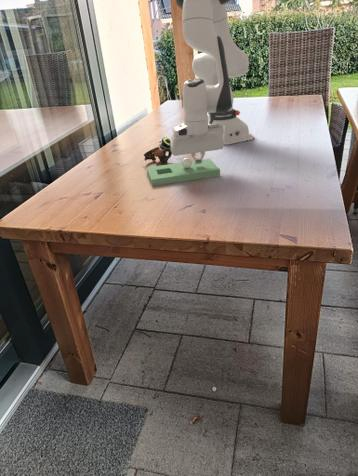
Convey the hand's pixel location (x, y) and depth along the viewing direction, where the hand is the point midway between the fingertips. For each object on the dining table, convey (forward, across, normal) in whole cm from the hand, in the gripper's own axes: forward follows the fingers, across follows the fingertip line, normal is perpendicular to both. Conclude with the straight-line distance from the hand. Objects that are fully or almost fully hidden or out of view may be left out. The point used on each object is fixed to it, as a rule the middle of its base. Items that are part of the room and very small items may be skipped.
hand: (198, 163), depth 145 cm
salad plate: (+4, 0, -39) cm, 40 cm away
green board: (+4, +6, 0) cm, 7 cm away
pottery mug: (+4, +13, -17) cm, 22 cm away
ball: (-1, +4, 0) cm, 5 cm away
